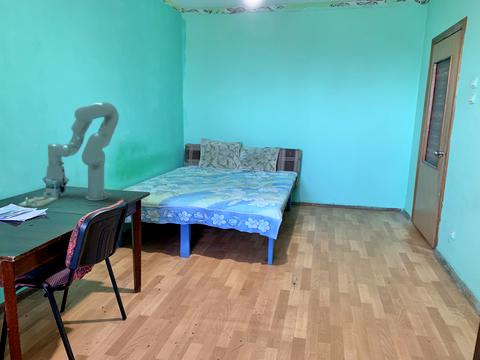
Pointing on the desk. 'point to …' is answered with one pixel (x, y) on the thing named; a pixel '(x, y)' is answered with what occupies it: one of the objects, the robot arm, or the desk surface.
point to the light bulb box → (54, 189)
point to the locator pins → (35, 199)
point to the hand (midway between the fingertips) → (56, 191)
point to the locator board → (41, 202)
